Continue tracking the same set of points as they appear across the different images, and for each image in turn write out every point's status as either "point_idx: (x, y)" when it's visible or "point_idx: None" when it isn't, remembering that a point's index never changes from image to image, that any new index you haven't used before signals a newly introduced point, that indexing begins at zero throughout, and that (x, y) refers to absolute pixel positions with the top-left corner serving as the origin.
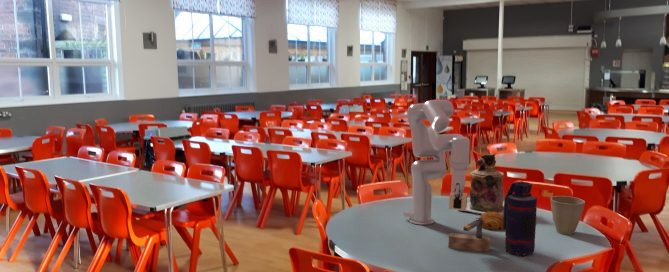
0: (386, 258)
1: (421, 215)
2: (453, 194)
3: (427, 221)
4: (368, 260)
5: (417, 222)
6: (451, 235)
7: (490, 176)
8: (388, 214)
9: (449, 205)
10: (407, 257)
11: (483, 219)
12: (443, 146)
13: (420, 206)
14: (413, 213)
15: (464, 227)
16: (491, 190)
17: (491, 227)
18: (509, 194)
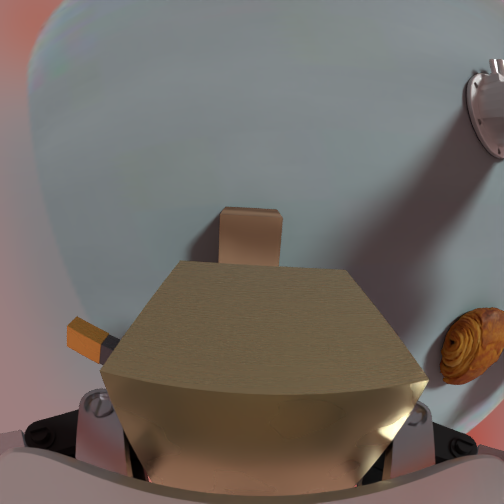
0: (73, 36)
1: (495, 105)
2: (201, 437)
3: (486, 130)
4: (61, 12)
5: (470, 92)
6: (241, 227)
7: None
8: (498, 37)
9: (170, 279)
10: (84, 82)
11: (474, 331)
12: None
13: None
14: (498, 80)
15: (68, 329)
16: None
17: (445, 345)
18: None
